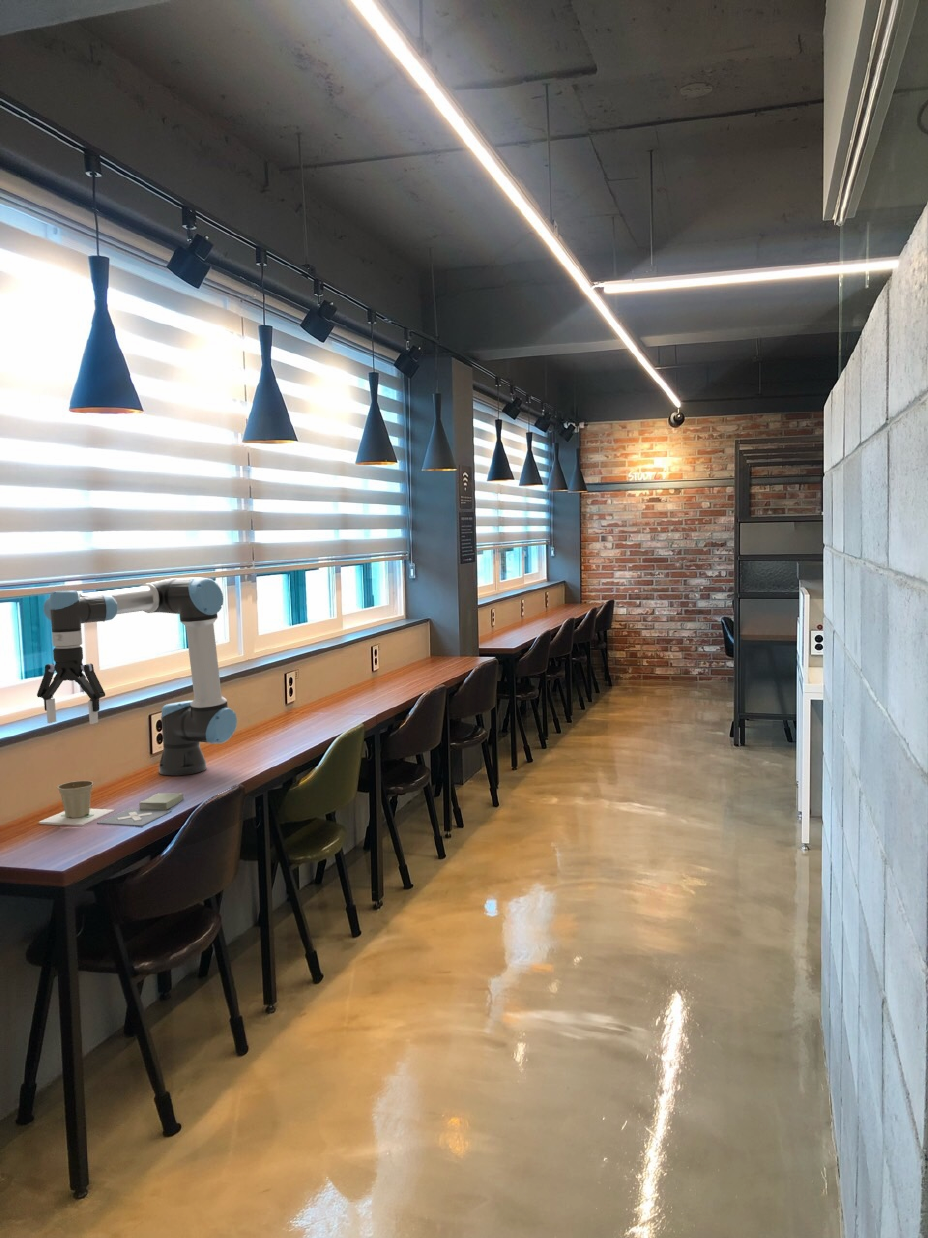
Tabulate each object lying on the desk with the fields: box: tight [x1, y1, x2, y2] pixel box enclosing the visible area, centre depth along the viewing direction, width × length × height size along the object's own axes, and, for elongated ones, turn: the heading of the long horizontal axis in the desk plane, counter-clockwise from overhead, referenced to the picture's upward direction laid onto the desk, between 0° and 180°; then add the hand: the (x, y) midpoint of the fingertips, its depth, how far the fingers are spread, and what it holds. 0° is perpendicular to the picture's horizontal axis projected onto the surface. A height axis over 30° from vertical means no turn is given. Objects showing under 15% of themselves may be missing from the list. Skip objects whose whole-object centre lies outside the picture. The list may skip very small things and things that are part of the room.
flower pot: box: [56, 780, 94, 818], centre depth 264 cm, size 9×9×9 cm
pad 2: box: [96, 807, 173, 828], centre depth 262 cm, size 14×14×1 cm
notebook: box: [138, 792, 184, 810], centre depth 274 cm, size 12×8×2 cm, turn 175°
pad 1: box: [38, 808, 116, 827], centre depth 264 cm, size 14×14×1 cm
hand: (72, 723), depth 263 cm, fingers open, 13 cm apart
